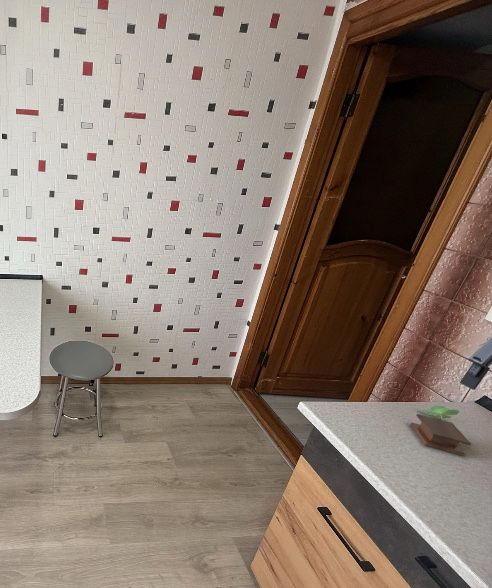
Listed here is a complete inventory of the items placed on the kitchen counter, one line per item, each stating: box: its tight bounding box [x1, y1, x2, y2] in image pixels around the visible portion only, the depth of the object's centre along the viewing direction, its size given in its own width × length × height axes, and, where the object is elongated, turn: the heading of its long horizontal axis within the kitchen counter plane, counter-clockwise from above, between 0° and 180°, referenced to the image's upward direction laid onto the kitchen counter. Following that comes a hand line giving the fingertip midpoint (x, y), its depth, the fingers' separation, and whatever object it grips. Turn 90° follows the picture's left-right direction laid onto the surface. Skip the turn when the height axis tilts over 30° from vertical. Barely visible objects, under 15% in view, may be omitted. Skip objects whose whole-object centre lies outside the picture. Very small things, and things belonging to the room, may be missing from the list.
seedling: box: [420, 405, 460, 420], centre depth 97 cm, size 7×8×7 cm
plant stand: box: [409, 413, 472, 457], centre depth 91 cm, size 8×8×4 cm
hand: (485, 384), depth 84 cm, fingers open, 13 cm apart
